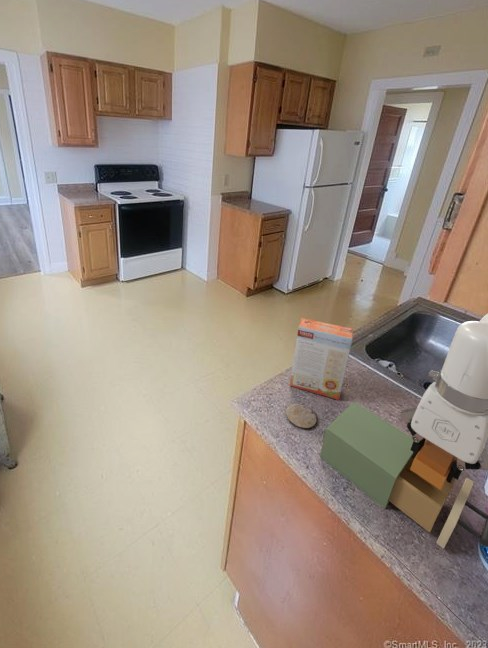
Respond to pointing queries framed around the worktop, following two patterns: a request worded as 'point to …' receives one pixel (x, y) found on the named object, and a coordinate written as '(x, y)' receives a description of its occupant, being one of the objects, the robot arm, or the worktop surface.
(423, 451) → the orange block
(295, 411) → the flatbread
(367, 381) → the worktop surface
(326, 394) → the cracker box
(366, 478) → the cabinet
